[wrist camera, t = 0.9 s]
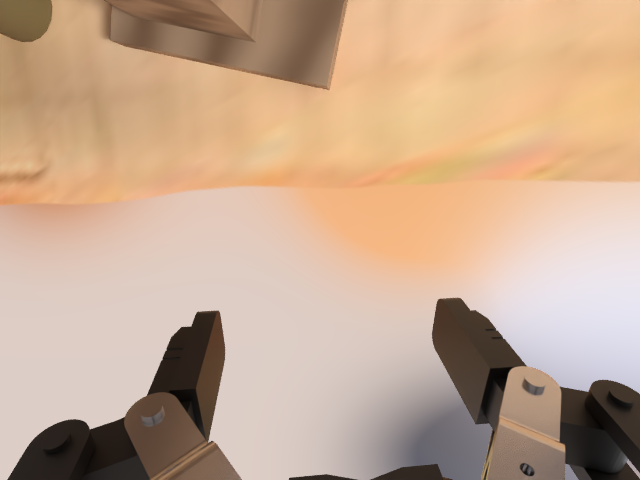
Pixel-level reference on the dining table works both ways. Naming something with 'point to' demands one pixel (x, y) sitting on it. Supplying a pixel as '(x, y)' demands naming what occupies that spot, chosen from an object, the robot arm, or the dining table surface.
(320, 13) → the dispenser stand
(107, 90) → the dining table surface
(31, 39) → the cork
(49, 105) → the dining table surface
